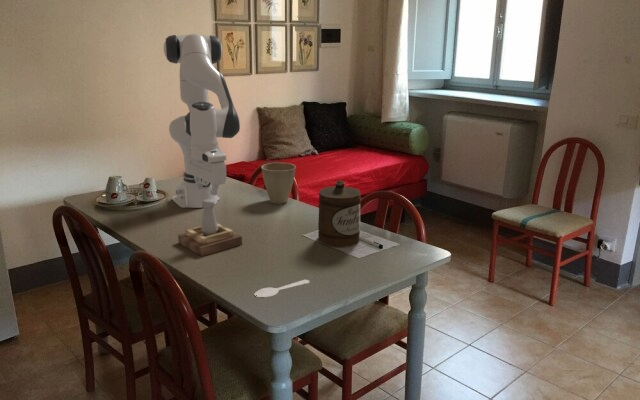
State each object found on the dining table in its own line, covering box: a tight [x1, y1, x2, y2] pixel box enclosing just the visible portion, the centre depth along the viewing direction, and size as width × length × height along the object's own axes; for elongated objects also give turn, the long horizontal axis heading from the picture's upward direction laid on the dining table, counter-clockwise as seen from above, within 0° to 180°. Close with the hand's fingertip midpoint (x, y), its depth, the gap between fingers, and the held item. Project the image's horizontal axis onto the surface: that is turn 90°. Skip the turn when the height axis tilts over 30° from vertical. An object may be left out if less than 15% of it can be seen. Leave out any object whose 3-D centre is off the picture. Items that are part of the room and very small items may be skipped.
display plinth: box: [177, 222, 243, 257], centre depth 184 cm, size 16×16×5 cm
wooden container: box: [317, 180, 361, 248], centre depth 186 cm, size 15×15×22 cm
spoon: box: [253, 279, 311, 298], centre depth 153 cm, size 5×18×1 cm, turn 123°
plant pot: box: [261, 162, 296, 205], centre depth 231 cm, size 15×15×16 cm
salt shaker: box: [200, 199, 218, 237], centre depth 182 cm, size 6×6×13 cm
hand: (206, 191), depth 180 cm, fingers open, 8 cm apart
